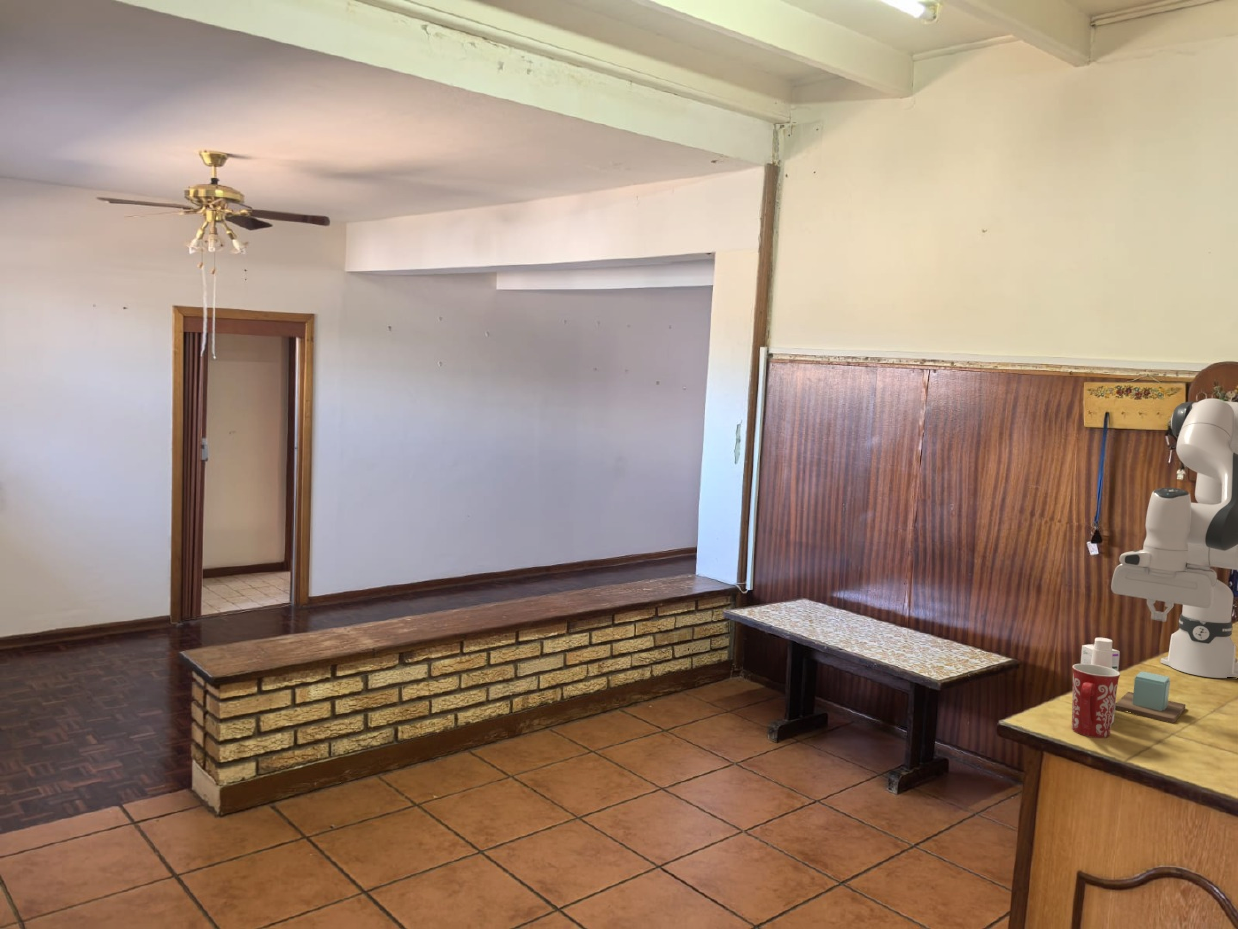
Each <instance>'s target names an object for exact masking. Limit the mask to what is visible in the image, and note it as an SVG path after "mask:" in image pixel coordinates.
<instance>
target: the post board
mask: <svg viewBox="0 0 1238 929" xmlns="http://www.w3.org/2000/svg"><path fill="white" fill-rule="evenodd" d="M1185 709H1186V704H1185V703H1182V702H1181V703H1180V702H1176V701H1172V700H1168V706H1167V707H1166V709H1165V710H1162V711H1158V710H1154V709H1149V708H1145V707H1140V706H1136V705H1133V692H1131V691H1127V692H1126V693H1125V694H1124V695H1123V696H1122V697H1120V699H1118V701H1116V703H1115V711H1118V710H1119V712H1123V711H1128V712H1131V713H1134V714H1133V715H1135V714H1137V715H1136V716H1140V717H1144V718H1148V719H1152V718H1154V719H1153V720H1157V719H1159V720H1158V721H1161V720H1162V722H1165V723H1169V722H1170V723H1171V724H1174V723H1175V722H1176V721H1177V719H1178V718H1179V717H1180V716H1181V714H1182V713H1183V712H1184V711H1185ZM1182 711H1183V712H1182ZM1131 713H1130V714H1131ZM1179 715H1180V716H1179ZM1175 720H1176V721H1175Z"/></svg>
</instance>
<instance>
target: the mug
mask: <svg viewBox="0 0 1238 929" xmlns="http://www.w3.org/2000/svg"><path fill="white" fill-rule="evenodd" d="M1071 668H1072V699H1071V700H1072V705H1071V707H1072V709H1071V729H1072V731H1073V732H1075V733H1076V734H1080V735H1083V736H1086V737H1090V738H1091V737H1092V738H1097V739H1098V738H1101V739H1102V738H1104V739H1105V738H1108V737H1110V734H1111V729H1112V724H1113V723H1112V717H1113V710H1114V704H1115V698H1116V699H1117V693H1116V692H1118V686H1119V679H1120V676H1121V673H1120V672H1119V670H1118V671H1116V670H1114V669H1111V668H1108V667H1104V666H1099V665H1093V664H1081V663H1076V664H1073V665H1072V667H1071ZM1111 723H1112V724H1111Z"/></svg>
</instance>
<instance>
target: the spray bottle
mask: <svg viewBox="0 0 1238 929" xmlns="http://www.w3.org/2000/svg"><path fill="white" fill-rule="evenodd" d="M1093 644H1094V647H1093V653H1092V658H1091V664H1093V665H1099V666H1104V667H1108V668H1111V669H1113V668H1112V654H1113V651H1112V649H1113V640H1112V639H1111V638H1107V637H1106V638H1105V637H1095V638H1094V643H1093ZM1117 692H1118V691H1117ZM1117 692H1116V694H1117ZM1115 703H1117V697H1116V698H1115ZM1114 713H1116V710H1115V704H1114V710H1113V717H1112V723H1111V725H1112V724H1113V723H1114V720H1115V714H1114Z"/></svg>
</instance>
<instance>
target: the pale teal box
mask: <svg viewBox="0 0 1238 929" xmlns="http://www.w3.org/2000/svg"><path fill="white" fill-rule="evenodd" d="M1170 684H1171V680H1170V676H1166V675H1161V674H1156V673H1153V672H1149V671H1143V670H1142V671H1140V672H1139V673H1137V674H1136V675H1135V677H1134V684H1133V692H1132V693H1133V705H1136V706H1140V707H1145V708H1149V709H1154V710H1158V711H1162V710H1165V709H1166V707H1167V706H1168V701H1169V695H1170Z"/></svg>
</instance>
